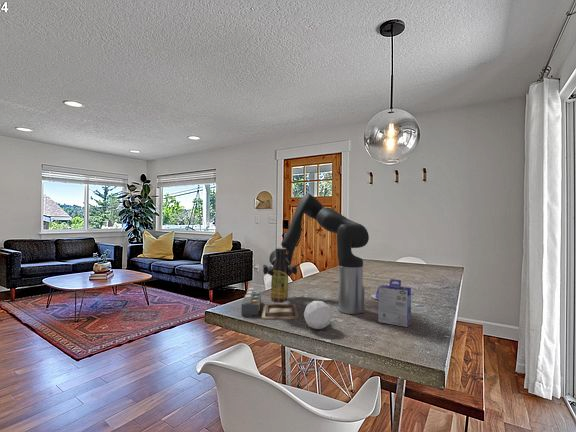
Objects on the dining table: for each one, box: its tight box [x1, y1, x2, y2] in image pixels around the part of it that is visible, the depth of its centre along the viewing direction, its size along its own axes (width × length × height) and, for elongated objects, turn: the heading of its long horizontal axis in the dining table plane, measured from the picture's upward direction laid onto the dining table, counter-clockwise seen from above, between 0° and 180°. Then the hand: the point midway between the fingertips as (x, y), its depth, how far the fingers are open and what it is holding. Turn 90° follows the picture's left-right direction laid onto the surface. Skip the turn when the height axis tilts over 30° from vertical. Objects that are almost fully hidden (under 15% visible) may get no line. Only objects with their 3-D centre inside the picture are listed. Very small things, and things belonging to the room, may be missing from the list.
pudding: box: [370, 285, 381, 300], centre depth 141 cm, size 12×12×5 cm
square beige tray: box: [261, 303, 300, 320], centre depth 117 cm, size 13×14×2 cm
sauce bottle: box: [270, 247, 289, 304], centre depth 118 cm, size 7×6×20 cm
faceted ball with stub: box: [303, 300, 333, 330], centre depth 103 cm, size 9×9×12 cm
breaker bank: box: [240, 287, 262, 316], centre depth 123 cm, size 6×18×6 cm, turn 1°
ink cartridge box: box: [377, 278, 412, 328], centre depth 107 cm, size 10×6×14 cm, turn 58°
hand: (280, 272), depth 115 cm, fingers closed on sauce bottle, 6 cm apart
